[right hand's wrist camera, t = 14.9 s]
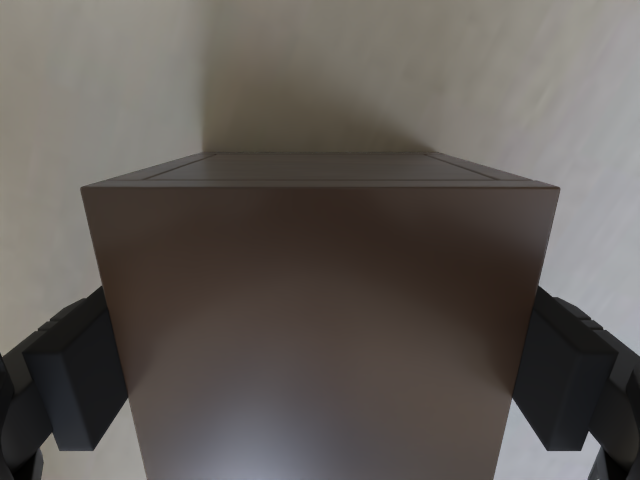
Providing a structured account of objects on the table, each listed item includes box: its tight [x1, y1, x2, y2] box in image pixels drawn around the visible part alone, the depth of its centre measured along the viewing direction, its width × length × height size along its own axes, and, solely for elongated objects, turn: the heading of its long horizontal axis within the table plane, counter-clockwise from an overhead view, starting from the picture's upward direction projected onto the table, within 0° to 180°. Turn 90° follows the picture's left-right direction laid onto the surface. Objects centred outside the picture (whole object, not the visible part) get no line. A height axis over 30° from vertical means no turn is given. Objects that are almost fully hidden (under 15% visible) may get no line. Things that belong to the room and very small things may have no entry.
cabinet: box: [80, 152, 560, 480], centre depth 14 cm, size 16×10×8 cm, turn 0°
